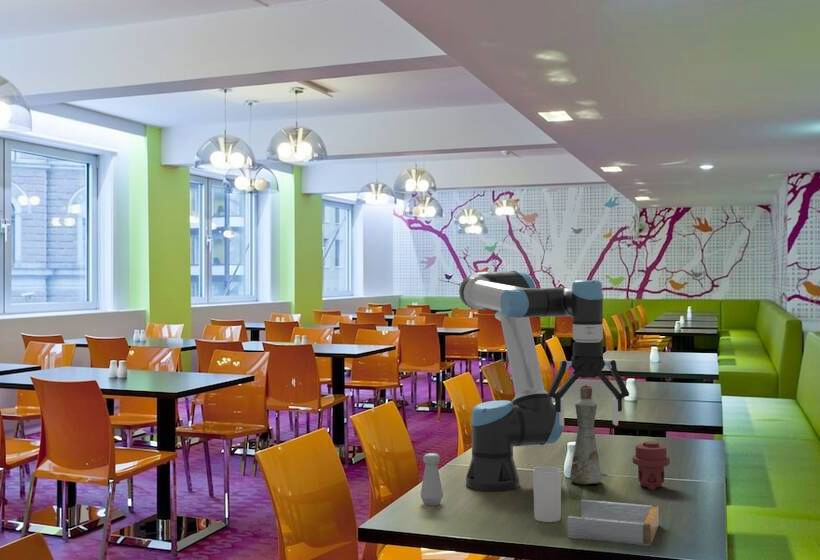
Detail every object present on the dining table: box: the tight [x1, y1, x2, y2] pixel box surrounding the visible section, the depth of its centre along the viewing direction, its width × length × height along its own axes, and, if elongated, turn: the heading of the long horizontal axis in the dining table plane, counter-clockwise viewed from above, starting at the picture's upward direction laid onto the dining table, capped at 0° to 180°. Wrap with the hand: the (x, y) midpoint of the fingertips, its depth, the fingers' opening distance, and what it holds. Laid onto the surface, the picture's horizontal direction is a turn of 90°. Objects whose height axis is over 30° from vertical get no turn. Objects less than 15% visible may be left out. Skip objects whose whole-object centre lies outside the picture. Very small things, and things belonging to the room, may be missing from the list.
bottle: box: [569, 384, 602, 486], centre depth 246 cm, size 9×9×28 cm
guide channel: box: [567, 499, 660, 547], centre depth 198 cm, size 18×17×4 cm
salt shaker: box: [420, 452, 444, 507], centre depth 224 cm, size 6×6×13 cm
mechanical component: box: [632, 440, 671, 491], centre depth 240 cm, size 12×10×10 cm
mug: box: [532, 466, 562, 523], centre depth 211 cm, size 10×7×12 cm, turn 168°
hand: (588, 424), depth 219 cm, fingers open, 13 cm apart
